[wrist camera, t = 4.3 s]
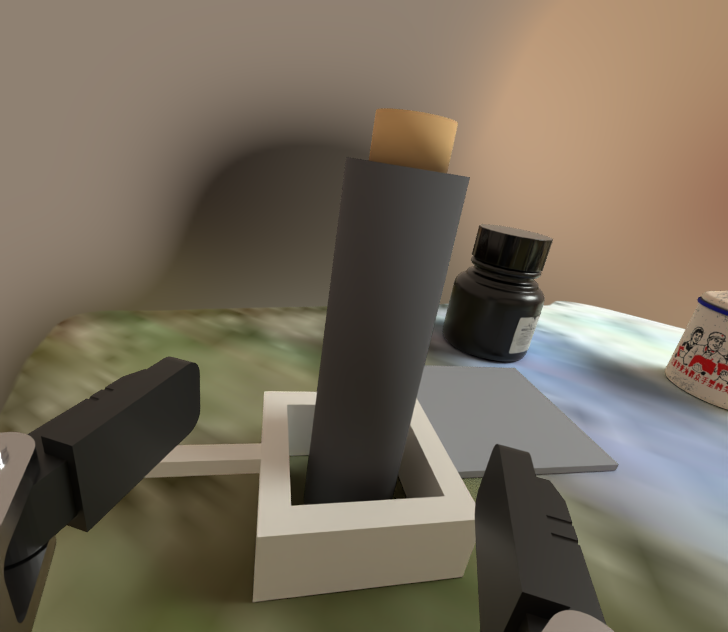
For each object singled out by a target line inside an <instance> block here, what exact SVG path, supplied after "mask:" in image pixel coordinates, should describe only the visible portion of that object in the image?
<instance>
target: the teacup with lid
mask: <svg viewBox="0 0 728 632" xmlns="http://www.w3.org/2000/svg"><path fill="white" fill-rule="evenodd" d="M698 302H699V304H698V306H697V308H696V310H695V312H694V314H693V316H692V318H691V320H690V322H689V324H688V326H687V328H686V330H685V332H684V334H683V335H682V337H681V339H680V341H679V343H678V345H677V347H676V349H675V351H674V353H673V355H672V357H671V359H670V361H669V363H668V365H667V367H666V369H665V374H666V376H667V377H668V379H669V380H670V381H671V382H672V383H674V384H675V385H676V386H678V387H679V388H681V389H682V390H684V391H686V392H687V393H689V394H691V395H693V396H695V397H697V398H699V399H701V400H703V401H705V402H708V403H710V404H713V405H715V406H718V407H721V408H724V409H727V410H728V291H708V292H705V293H704V294H702V295H701V297H699V298H698Z"/></svg>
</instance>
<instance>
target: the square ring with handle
mask: <svg viewBox="0 0 728 632" xmlns="http://www.w3.org/2000/svg"><path fill="white" fill-rule="evenodd" d="M316 395H317V392H278V391H264V405H263V421H262V437H261V443H254V444H209V445H177V446H176V447H175V448H174V449H173V450H172V451H171V452H170V453H169V454H168V455H167V456H166V457H165V458H164V459H163V460H162V461H161V462H160V463H159V464H157V465H156V466H155V467H154V468H153V469H152V470H151V471H150V472H149V473H148V474H147V475H146V476H145V477H144V478H152V477H177V476H201V475H226V474H251V473H259V492H258V511H257V530H256V548H255V567H254V586H253V602H258V601H266V600H274V599H283V598H291V597H299V596H307V595H316V594H324V593H332V592H341V591H349V590H357V589H366V588H374V587H382V586H390V585H399V584H407V583H415V582H424V581H432V580H440V579H448V578H457V577H463V574H464V571H465V569H466V566H467V563H468V561H469V558H470V555H471V553H472V550H473V547H474V544H475V542H476V535H475V502H474V500H473V498H472V497H471V495H470V493H469V491H468V489H467V488H466V486H465V484H464V482H463V480H462V479H461V477H460V475H459V473H458V471H457V470H456V468H455V466H454V464H453V462H452V461H451V459H450V457H449V455H448V454H447V452H446V450H445V448H444V446H443V445H442V443H441V441H440V439H439V437H438V436H437V434H436V432H435V430H434V428H433V427H432V425H431V423H430V421H429V419H428V418H427V416H426V414H425V412H424V410H423V409H422V407H421V405H420V403H419V401H418V400H417V398H416V403H415V407H414V411H413V415H412V419H411V423H410V427H409V432H408V436H407V440H406V444H405V448H404V452H403V456H402V461H401V465H400V469H399V473H398V475H399V478H400V481H401V484H402V486H403V489H404V492H405V494H406V497H407V499H393V500H377V501H361V502H345V503H329V504H313V505H297V506H291V491H290V466H289V456H300V455H309V451H310V443H311V435H312V427H313V419H314V411H315V403H316Z"/></svg>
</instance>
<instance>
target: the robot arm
mask: <svg viewBox="0 0 728 632" xmlns="http://www.w3.org/2000/svg"><path fill="white" fill-rule="evenodd" d="M199 415H200V371H199V367H198V365H197V364H196V363H193V362H189V361H185V360H181V359H178V358H174V357H166V358H164V359H162V360H161V361H159V362H158V363H156V364H154V365H153V366H151V367H150V368H148V369H144V370H141V371H138V372H135V373H132V374H129V375H126V376H123V377H122V378H120V379H118V380H117V381H115V382H113V383H112V384H110V385H108V386H107V387H105V390H100V391H98V392H97V393H95V394H93V395H92V396H90V399H85V400H83V401H82V402H80V403H79V404H77V405H75V406H74V407H72V408H70V409H69V410H67V411H65V412H64V413H62V414H60V415H59V416H57V417H55V418H54V419H52V420H50V421H49V422H47V423H45V424H44V425H42V426H40V427H39V428H37V429H36V430H34V431H32V432H31V433H29V434H23V433H18V432H4V433H0V632H32V628H33V625H34V621H35V618H36V614H37V611H38V607H39V604H40V600H41V597H42V593H43V590H44V586H45V583H46V579H47V576H48V572H49V569H50V565H51V562H52V558H53V555H54V551H55V548H56V534H57V533H58V532H59V531H60V530H61V529H62V528H64V527H65V526H66V525H68V526H71V527H74V528H77V529H80V530H82V531H85V532H88V531H89V530H90V529H91V528H92V527H93V526H94V525H95V524H97V523H98V522H99V521H100V520H101V519H102V518H103V517H104V516H105V515H106V514H107V513H108V512H109V511H110V510H111V509H112V508H113V507H114V506H115V505H116V504H117V503H118V502H119V501H120V500H121V499H122V498H123V497H124V496H125V495H126V494H128V493H129V492H130V491H131V490H132V489H133V488H134V487H135V486H136V485H137V484H138V483H139V482H140V481H141V480H142V479H143V478H144V477H145V476H146V475H147V474H148V473H149V472H150V471H151V470H152V469H153V468H154V467H155V466H156V465H157V464H159V463H160V462H161V461H162V460H163V459H164V458H165V457H166V456H167V455H168V454H169V453H170V452H171V451H172V450H173V449H174V448H175V447H176V446H177V445H178V444H179V443H180V442H181V441H182V440H183V439H184V438H185V437H186V436H187V435H188V434H189V433H190V432H191V431H192V430H193V429H194V427H195V425H196V423H197V421H198V418H199ZM475 535H476V555H477V574H478V594H479V613H480V632H614V631H613V630H612V629H610V628H609V627H608V626H607V625H606V622H605V620H604V617H603V614H602V611H601V608H600V605H599V602H598V599H597V596H596V593H595V590H594V587H593V584H592V581H591V578H590V575H589V572H588V569H587V566H586V563H585V559H584V556H583V553H582V550H581V547H580V545H578V538H577V535H576V532H575V529H574V527H573V526H572V520H571V517H570V514H569V511H568V508H567V505H566V502H565V500H564V499H563V498H562V496H561V495H560V494H559V492H558V491H557V490H556V488H555V487H554V486H553V484H552V483H551V482H550V481H549V480H546V479H542V478H538V477H536V474H535V470H534V466H533V462H532V458H531V455H530V453H529V452H526V451H522V450H519V449H515V448H511V447H507V446H503V445H500V444H496V445H495V446H494V448H493V450H492V453H491V455H490V458H489V461H488V464H487V467H486V470H485V473H484V476H483V478H482V481H481V484H480V487H479V490H478V494H477V498H476V504H475Z"/></svg>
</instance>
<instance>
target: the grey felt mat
mask: <svg viewBox="0 0 728 632" xmlns="http://www.w3.org/2000/svg"><path fill="white" fill-rule="evenodd" d="M417 400H418V401H419V403H420V405H421V407H422V409H423V410H424V412H425V414H426V416H427V418H428V419H429V421H430V423H431V425H432V427H433V428H434V430H435V432H436V434H437V436H438V437H439V439H440V441H441V443H442V445H443V446H444V448H445V450H446V452H447V454H448V455H449V457H450V459H451V461H452V462H453V464H454V466H455V468H456V470H457V471H458V473H459V475H460V477H461V478H474V477H483V476H484V473H485V470H486V467H487V464H488V461H489V458H490V455H491V453H492V450H493V448H494V446H495V445H496V444H500V445H503V446H507V447H511V448H515V449H519V450H522V451H526V452H529V453H530V455H531V458H532V462H533V466H534V470H535V474H553V473H573V472H593V471H613V470H616V469H617V467H618V465H619V464H618V463H617V462H615V461H614V460H613V459H612V458H611V457H610V456H609V455H608V454H607V453H606V452H605V451H604V450H603V449H601V448H600V447H599V446H598V445H597V444H596V443H595V442H594V441H593V440H592V439H591V438H590V437H589V436H587V435H586V434H585V433H584V432H583V431H582V430H581V429H580V428H579V427H578V426H577V425H576V424H575V423H573V422H572V421H571V420H570V419H569V418H568V417H567V416H566V415H565V414H564V413H563V412H562V411H561V410H559V409H558V408H557V407H556V406H555V405H554V404H553V403H552V402H551V401H550V400H549V399H548V398H547V397H545V396H544V395H543V394H542V393H541V392H540V391H539V390H538V389H537V388H536V387H535V386H534V385H533V384H531V383H530V382H529V381H528V380H527V379H526V378H525V377H524V376H523V375H522V374H521V373H520V372H519V371H517V370H516V369H515V368H494V367H460V366H426V365H424V369H423V374H422V378H421V382H420V386H419V390H418V394H417Z"/></svg>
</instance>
